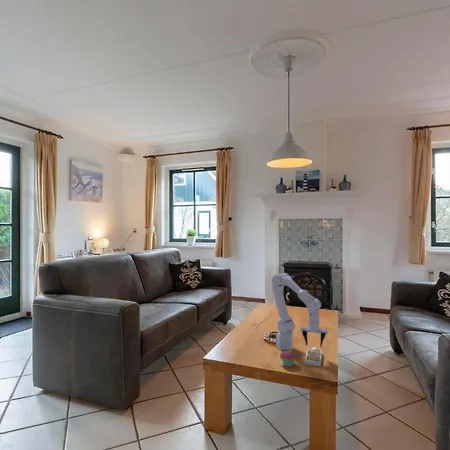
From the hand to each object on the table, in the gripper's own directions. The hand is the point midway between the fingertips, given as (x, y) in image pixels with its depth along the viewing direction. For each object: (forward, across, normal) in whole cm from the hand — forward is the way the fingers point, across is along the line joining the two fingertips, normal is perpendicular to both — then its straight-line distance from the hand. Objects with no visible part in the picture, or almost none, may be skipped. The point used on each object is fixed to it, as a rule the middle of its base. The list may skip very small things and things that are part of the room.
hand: (313, 345), depth 173 cm
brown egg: (+6, 0, +8) cm, 10 cm away
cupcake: (+7, +12, +14) cm, 20 cm away
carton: (+6, 0, +4) cm, 7 cm away
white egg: (+6, 0, 0) cm, 6 cm away
